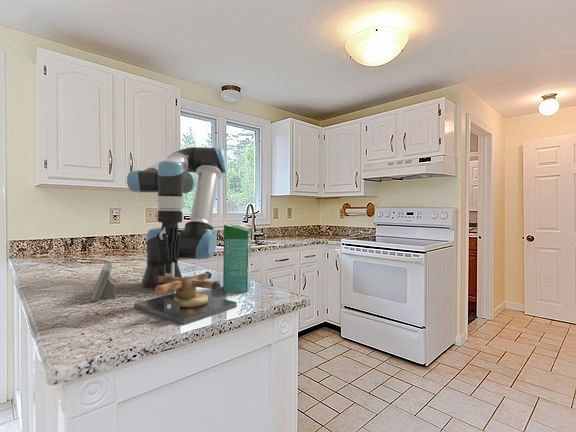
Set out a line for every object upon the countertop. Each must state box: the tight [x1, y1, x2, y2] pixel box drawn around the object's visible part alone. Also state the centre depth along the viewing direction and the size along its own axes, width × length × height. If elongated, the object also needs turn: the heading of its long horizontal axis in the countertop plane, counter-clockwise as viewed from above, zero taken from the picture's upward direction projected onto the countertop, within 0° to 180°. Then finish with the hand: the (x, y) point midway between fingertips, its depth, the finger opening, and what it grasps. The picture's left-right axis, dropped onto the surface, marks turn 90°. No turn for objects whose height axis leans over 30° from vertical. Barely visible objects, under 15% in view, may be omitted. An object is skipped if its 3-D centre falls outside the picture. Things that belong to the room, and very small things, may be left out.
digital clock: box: [90, 262, 117, 302], centre depth 112 cm, size 16×9×11 cm, turn 15°
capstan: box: [154, 271, 221, 307], centre depth 101 cm, size 25×25×7 cm
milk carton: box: [222, 223, 252, 293], centre depth 125 cm, size 9×9×25 cm
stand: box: [133, 292, 238, 326], centre depth 100 cm, size 24×21×6 cm
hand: (169, 282), depth 105 cm, fingers closed
